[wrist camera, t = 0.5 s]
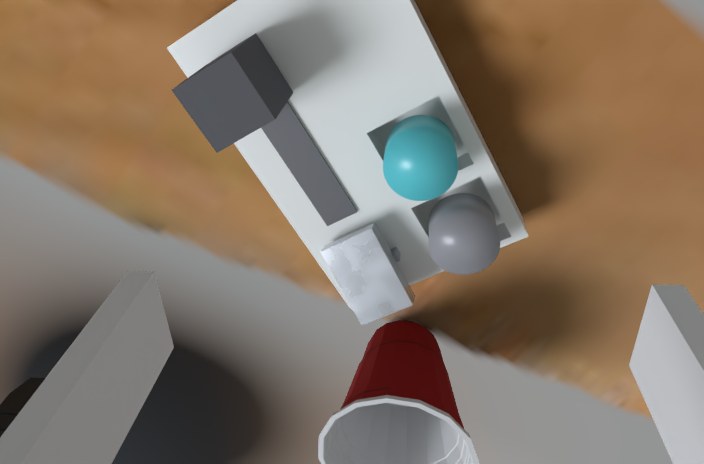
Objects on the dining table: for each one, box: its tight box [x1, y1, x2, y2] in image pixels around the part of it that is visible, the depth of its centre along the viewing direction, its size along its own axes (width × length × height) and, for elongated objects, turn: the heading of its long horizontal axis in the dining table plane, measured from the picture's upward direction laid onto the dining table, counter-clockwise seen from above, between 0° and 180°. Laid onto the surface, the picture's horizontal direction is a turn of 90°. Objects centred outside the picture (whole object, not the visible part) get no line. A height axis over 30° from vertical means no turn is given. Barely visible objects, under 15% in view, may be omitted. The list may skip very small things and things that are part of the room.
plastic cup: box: [318, 320, 479, 464], centre depth 43 cm, size 11×11×12 cm
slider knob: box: [172, 33, 294, 152], centre depth 32 cm, size 4×4×5 cm
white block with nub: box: [320, 222, 415, 325], centre depth 39 cm, size 6×4×1 cm, turn 31°
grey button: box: [429, 193, 500, 275], centre depth 37 cm, size 4×4×3 cm
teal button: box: [383, 115, 458, 201], centre depth 35 cm, size 4×4×3 cm
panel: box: [167, 0, 528, 309], centre depth 37 cm, size 22×14×4 cm, turn 31°
